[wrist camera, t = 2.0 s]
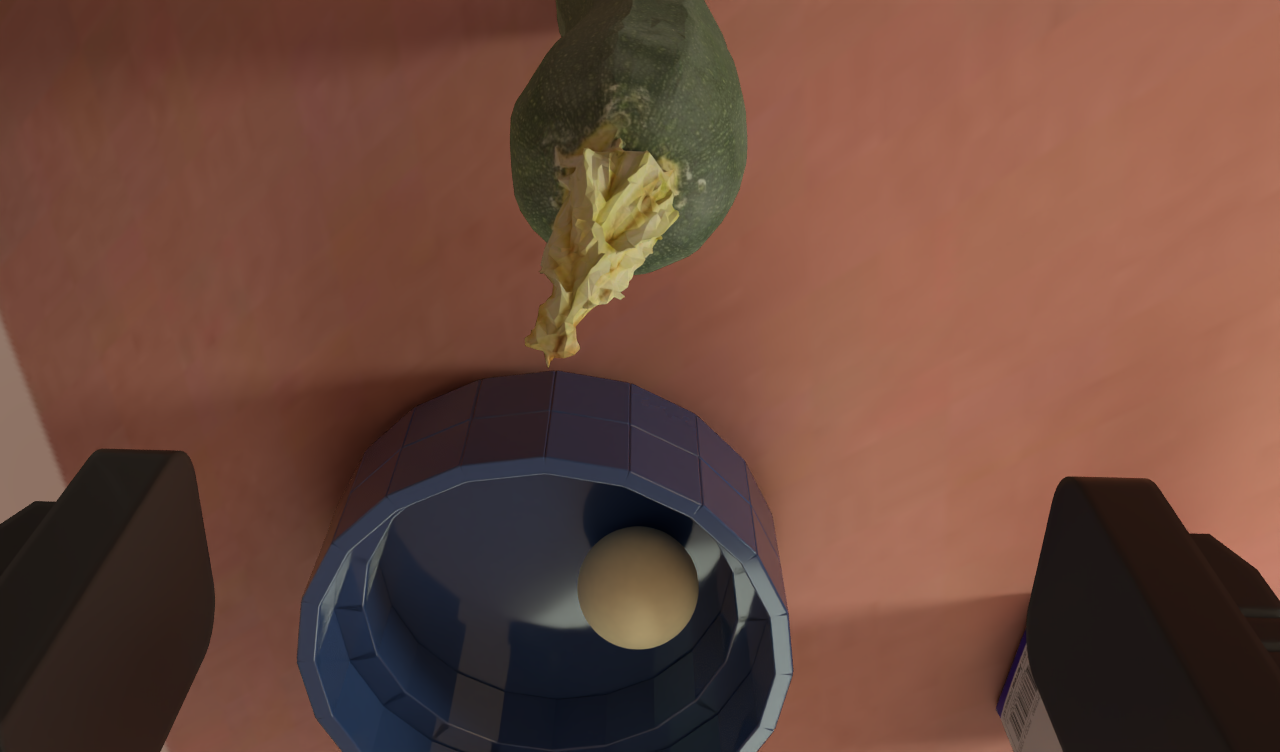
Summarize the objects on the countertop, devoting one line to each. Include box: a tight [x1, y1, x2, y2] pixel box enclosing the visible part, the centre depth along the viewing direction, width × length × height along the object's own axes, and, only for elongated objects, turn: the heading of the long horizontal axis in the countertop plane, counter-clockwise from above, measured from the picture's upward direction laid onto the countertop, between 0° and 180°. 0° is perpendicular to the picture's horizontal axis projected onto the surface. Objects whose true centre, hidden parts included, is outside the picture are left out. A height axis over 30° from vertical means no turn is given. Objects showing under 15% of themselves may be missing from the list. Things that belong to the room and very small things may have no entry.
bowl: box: [297, 371, 793, 752], centre depth 41 cm, size 15×15×6 cm
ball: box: [577, 526, 699, 649], centre depth 41 cm, size 4×4×4 cm
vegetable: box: [510, 0, 747, 369], centre depth 25 cm, size 4×4×20 cm
